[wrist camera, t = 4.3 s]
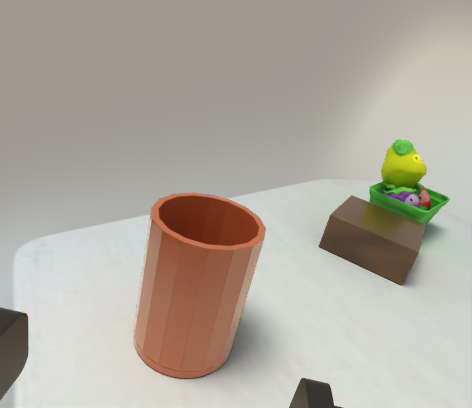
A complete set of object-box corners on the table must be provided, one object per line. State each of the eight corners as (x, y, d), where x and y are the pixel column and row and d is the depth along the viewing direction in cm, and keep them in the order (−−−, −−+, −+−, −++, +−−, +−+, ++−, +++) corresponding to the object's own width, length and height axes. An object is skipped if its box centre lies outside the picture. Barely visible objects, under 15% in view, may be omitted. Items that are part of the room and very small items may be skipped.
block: (318, 246, 40) (330, 214, 38) (340, 222, 47) (351, 195, 46) (401, 285, 36) (418, 252, 35) (411, 253, 44) (426, 224, 42)
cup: (111, 337, 23) (125, 209, 19) (177, 292, 28) (198, 184, 24) (192, 399, 20) (226, 265, 17) (247, 336, 26) (283, 224, 22)
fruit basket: (409, 249, 45) (451, 162, 40) (346, 216, 50) (377, 136, 45) (435, 229, 53) (473, 156, 49) (379, 203, 58) (408, 134, 54)
